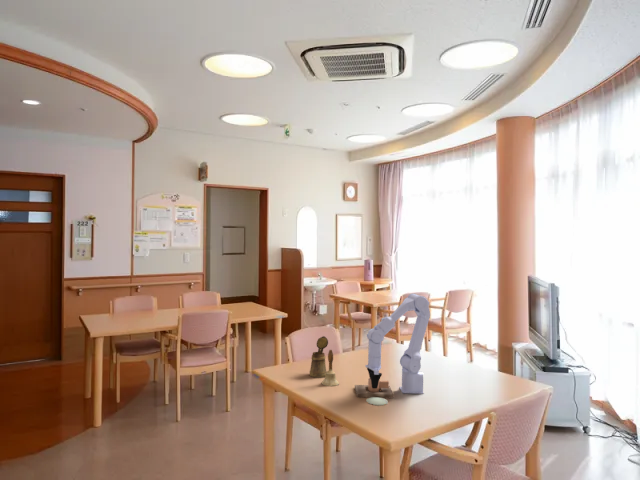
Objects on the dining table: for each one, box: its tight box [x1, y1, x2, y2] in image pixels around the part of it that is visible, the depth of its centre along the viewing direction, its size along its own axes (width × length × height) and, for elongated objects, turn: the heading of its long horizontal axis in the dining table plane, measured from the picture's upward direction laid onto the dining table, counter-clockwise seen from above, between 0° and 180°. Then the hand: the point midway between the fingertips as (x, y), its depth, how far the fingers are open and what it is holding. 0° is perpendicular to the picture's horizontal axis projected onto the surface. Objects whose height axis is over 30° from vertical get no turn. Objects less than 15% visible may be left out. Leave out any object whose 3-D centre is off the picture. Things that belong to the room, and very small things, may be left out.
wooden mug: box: [309, 335, 329, 379], centre depth 229 cm, size 9×14×18 cm, turn 163°
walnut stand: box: [354, 384, 395, 399], centre depth 202 cm, size 16×12×2 cm
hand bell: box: [321, 349, 340, 387], centre depth 214 cm, size 8×8×16 cm
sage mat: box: [366, 397, 389, 406], centre depth 191 cm, size 9×9×1 cm
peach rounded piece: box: [367, 377, 390, 392], centre depth 202 cm, size 9×5×6 cm, turn 91°
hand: (373, 386), depth 202 cm, fingers closed on peach rounded piece, 5 cm apart
